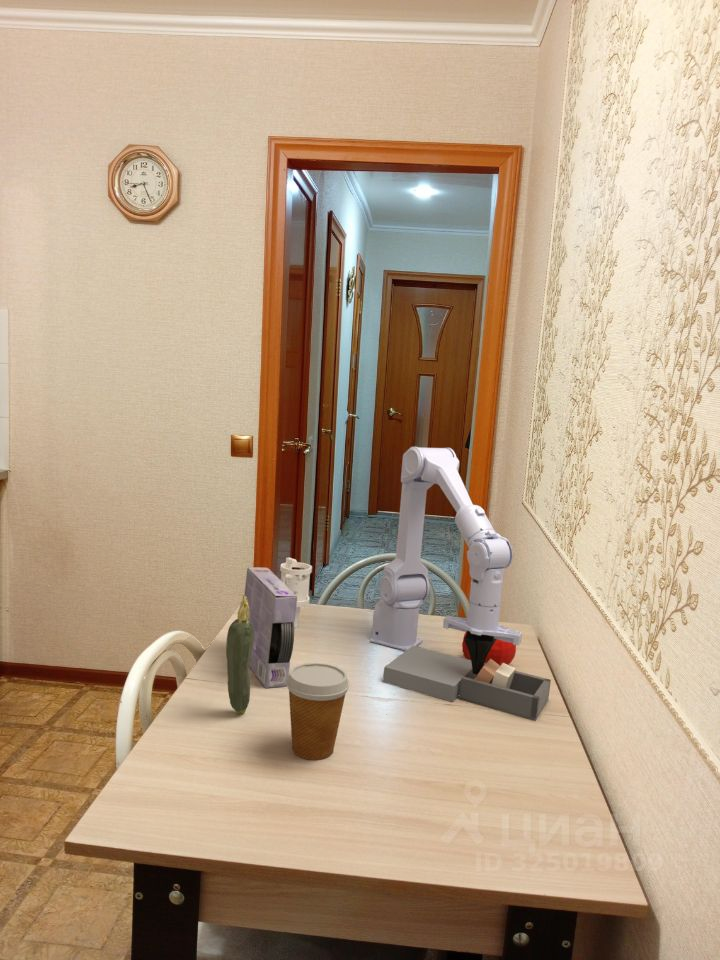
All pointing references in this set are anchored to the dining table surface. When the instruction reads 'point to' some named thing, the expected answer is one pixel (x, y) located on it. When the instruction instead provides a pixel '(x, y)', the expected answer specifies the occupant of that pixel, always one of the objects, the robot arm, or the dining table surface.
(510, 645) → the tomato
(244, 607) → the vegetable
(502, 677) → the tile cream
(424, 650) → the slate board
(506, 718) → the dining table surface
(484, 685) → the box
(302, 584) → the strainer
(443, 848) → the dining table surface
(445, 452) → the robot arm
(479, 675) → the tile terracotta
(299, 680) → the disposable coffee cup
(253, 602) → the cake pan box
